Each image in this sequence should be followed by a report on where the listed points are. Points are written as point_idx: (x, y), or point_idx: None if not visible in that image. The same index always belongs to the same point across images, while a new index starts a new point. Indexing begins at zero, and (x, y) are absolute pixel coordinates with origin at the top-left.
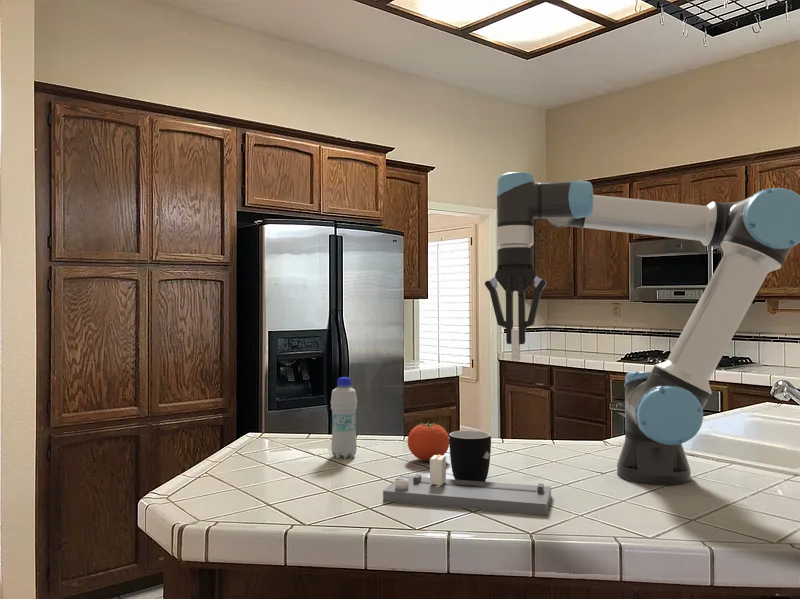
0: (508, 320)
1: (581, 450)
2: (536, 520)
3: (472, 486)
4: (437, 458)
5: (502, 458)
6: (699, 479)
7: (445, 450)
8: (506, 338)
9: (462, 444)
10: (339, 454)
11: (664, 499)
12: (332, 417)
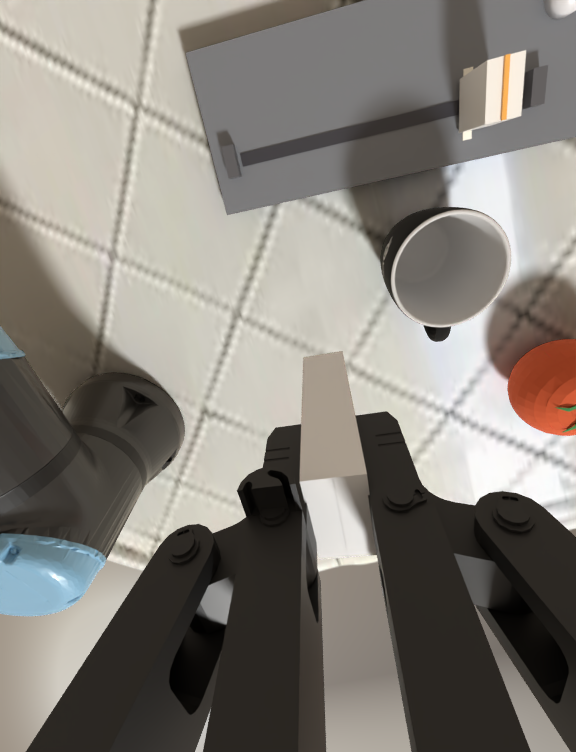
0: (418, 549)
1: None
2: (197, 4)
3: (383, 118)
4: (503, 69)
5: None
6: None
7: (510, 375)
8: (400, 434)
9: (454, 207)
10: None
11: (61, 296)
12: None
